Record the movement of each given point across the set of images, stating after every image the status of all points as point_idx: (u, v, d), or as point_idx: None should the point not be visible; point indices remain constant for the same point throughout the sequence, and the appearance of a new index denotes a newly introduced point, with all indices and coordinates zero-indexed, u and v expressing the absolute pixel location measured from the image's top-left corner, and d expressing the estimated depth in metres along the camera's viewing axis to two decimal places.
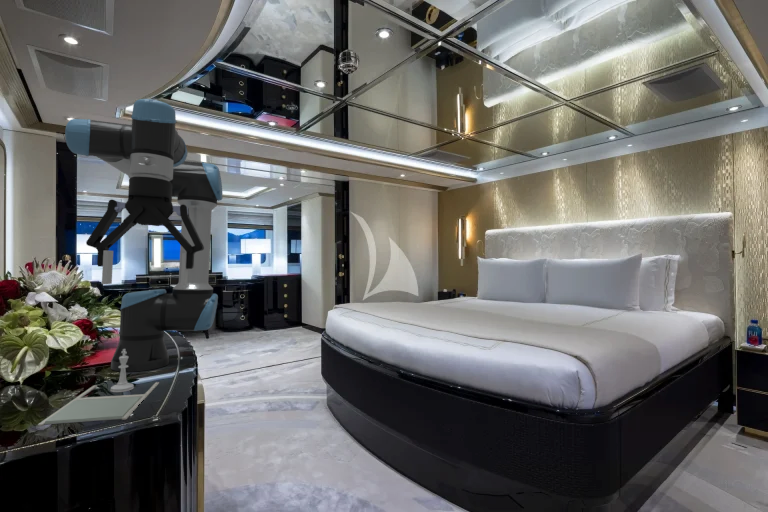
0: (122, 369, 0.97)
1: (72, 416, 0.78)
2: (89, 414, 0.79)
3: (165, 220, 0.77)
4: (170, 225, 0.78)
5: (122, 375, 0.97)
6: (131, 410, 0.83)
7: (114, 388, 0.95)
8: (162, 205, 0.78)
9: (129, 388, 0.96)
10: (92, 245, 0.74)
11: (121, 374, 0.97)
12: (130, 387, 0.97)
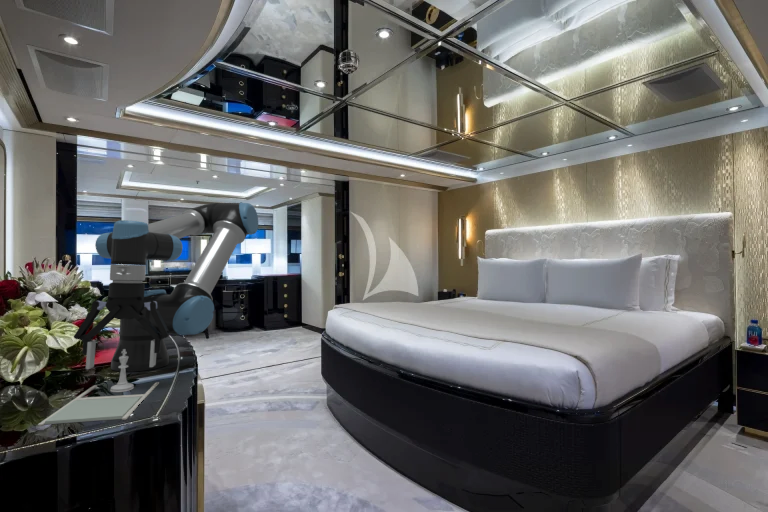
0: (122, 369, 0.97)
1: (72, 416, 0.78)
2: (89, 414, 0.79)
3: (137, 315, 0.97)
4: (142, 319, 0.97)
5: (122, 375, 0.97)
6: (131, 410, 0.83)
7: (114, 388, 0.95)
8: (135, 303, 0.97)
9: (129, 388, 0.96)
10: (78, 338, 0.94)
11: (121, 374, 0.97)
12: (130, 387, 0.97)
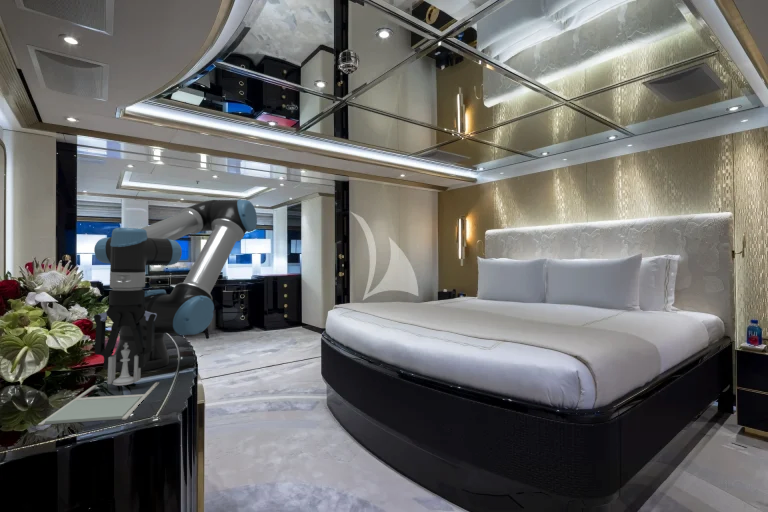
0: (124, 362, 0.97)
1: (72, 416, 0.78)
2: (89, 414, 0.79)
3: (134, 325, 0.97)
4: (136, 329, 0.97)
5: (124, 368, 0.97)
6: (131, 410, 0.83)
7: (116, 381, 0.96)
8: (137, 309, 0.98)
9: (131, 381, 0.97)
10: (100, 353, 0.95)
11: (123, 367, 0.97)
12: (132, 380, 0.97)
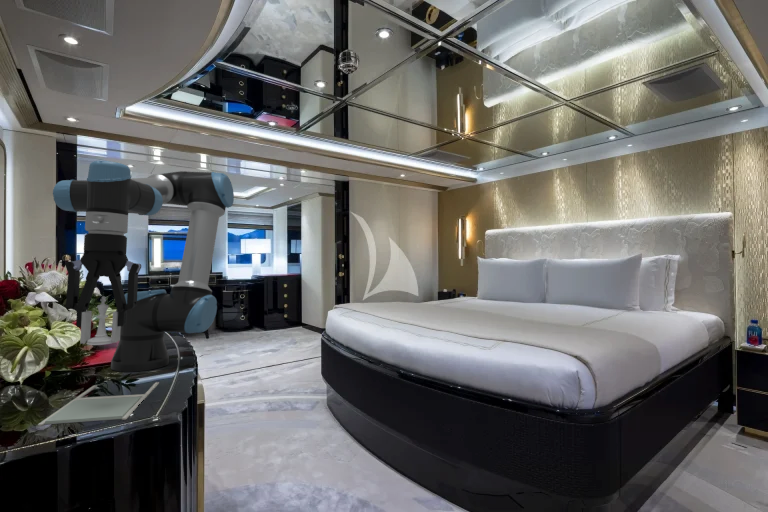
0: (101, 319, 0.83)
1: (72, 416, 0.78)
2: (89, 414, 0.79)
3: (113, 275, 0.83)
4: (115, 281, 0.83)
5: (101, 326, 0.83)
6: (131, 410, 0.83)
7: (91, 340, 0.81)
8: (117, 257, 0.84)
9: (109, 341, 0.83)
10: (72, 306, 0.81)
11: (99, 325, 0.83)
12: (110, 340, 0.83)
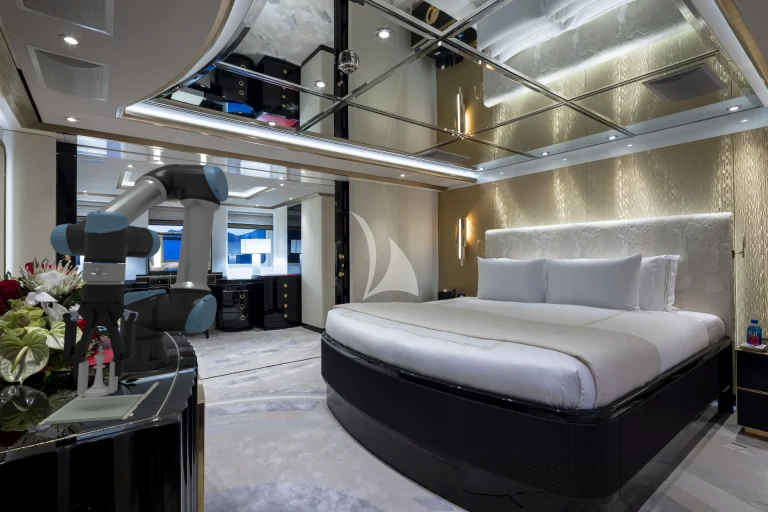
0: (98, 370, 0.83)
1: (72, 416, 0.78)
2: (89, 414, 0.79)
3: (110, 326, 0.82)
4: (112, 331, 0.83)
5: (98, 377, 0.82)
6: (131, 410, 0.83)
7: (88, 392, 0.81)
8: (115, 307, 0.83)
9: (106, 392, 0.82)
10: (69, 358, 0.81)
11: (97, 375, 0.82)
12: (107, 391, 0.82)
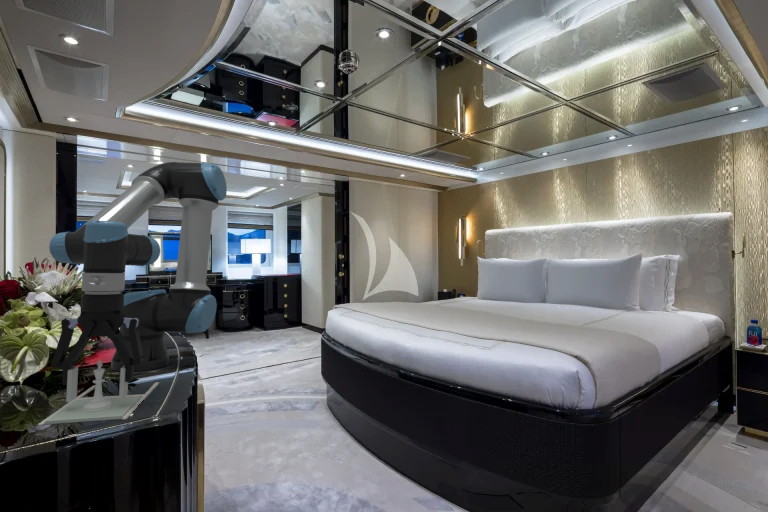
0: (97, 384, 0.83)
1: (72, 416, 0.78)
2: (89, 414, 0.79)
3: (112, 334, 0.82)
4: (116, 339, 0.83)
5: (97, 391, 0.83)
6: (131, 410, 0.83)
7: (87, 407, 0.81)
8: (114, 317, 0.83)
9: (105, 406, 0.82)
10: (58, 365, 0.80)
11: (96, 390, 0.83)
12: (107, 405, 0.83)
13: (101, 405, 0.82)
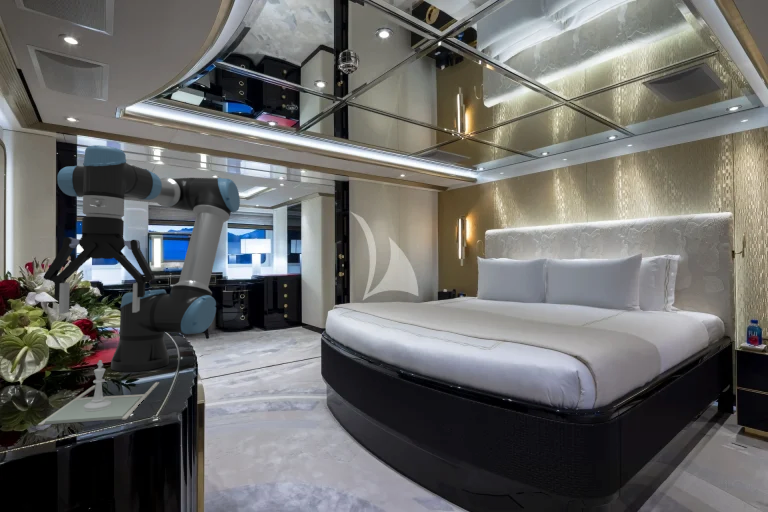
0: (97, 384, 0.83)
1: (72, 416, 0.78)
2: (89, 414, 0.79)
3: (116, 254, 0.86)
4: (121, 259, 0.86)
5: (97, 391, 0.83)
6: (131, 410, 0.83)
7: (87, 406, 0.81)
8: (114, 241, 0.86)
9: (105, 406, 0.82)
10: (49, 279, 0.83)
11: (96, 390, 0.83)
12: (107, 405, 0.83)
13: (101, 405, 0.82)
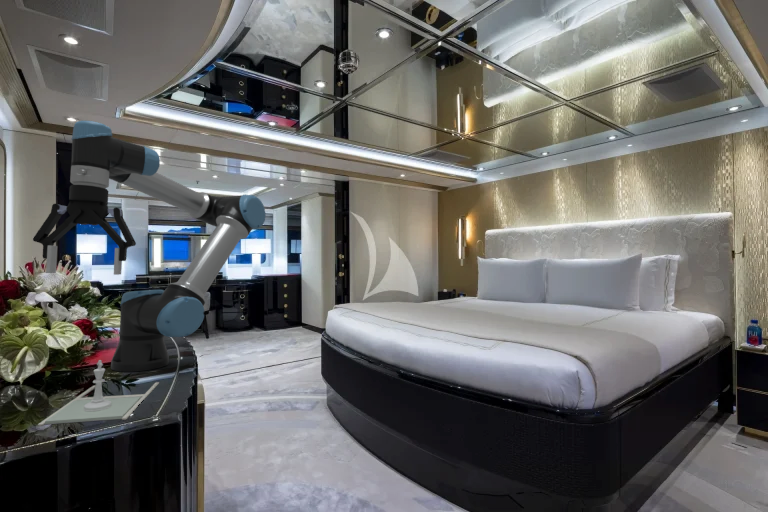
0: (97, 384, 0.83)
1: (72, 416, 0.78)
2: (89, 414, 0.79)
3: (100, 220, 0.93)
4: (105, 224, 0.94)
5: (97, 391, 0.83)
6: (131, 410, 0.83)
7: (87, 407, 0.81)
8: (98, 208, 0.94)
9: (105, 406, 0.82)
10: (38, 241, 0.90)
11: (96, 390, 0.83)
12: (107, 405, 0.83)
13: (101, 405, 0.82)
